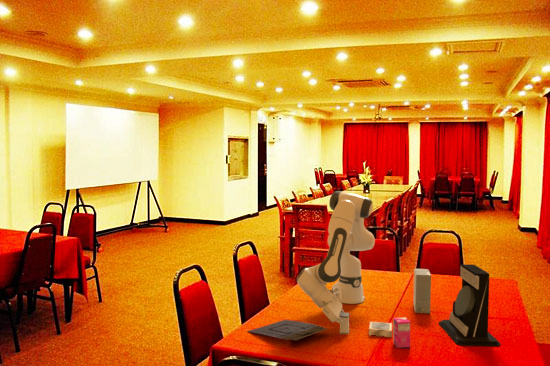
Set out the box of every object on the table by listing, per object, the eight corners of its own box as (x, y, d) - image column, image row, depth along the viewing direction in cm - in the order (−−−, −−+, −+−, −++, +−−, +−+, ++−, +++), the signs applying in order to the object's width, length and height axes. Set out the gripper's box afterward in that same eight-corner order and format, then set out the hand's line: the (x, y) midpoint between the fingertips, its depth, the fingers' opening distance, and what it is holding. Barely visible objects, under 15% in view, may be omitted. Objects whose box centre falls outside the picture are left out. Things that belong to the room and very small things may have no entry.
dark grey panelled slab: (293, 348, 207) (292, 339, 208) (247, 337, 230) (246, 329, 230) (331, 334, 224) (331, 325, 224) (285, 325, 246) (285, 317, 246)
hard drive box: (430, 314, 256) (431, 275, 254) (415, 313, 257) (415, 274, 256) (427, 305, 271) (428, 268, 270) (412, 304, 272) (413, 268, 271)
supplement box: (392, 343, 216) (393, 317, 215) (406, 343, 216) (406, 317, 215) (397, 348, 210) (397, 322, 209) (410, 348, 210) (411, 321, 210)
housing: (339, 334, 227) (339, 315, 226) (340, 330, 232) (340, 312, 232) (348, 334, 226) (348, 316, 226) (349, 331, 231) (349, 312, 231)
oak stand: (368, 335, 225) (369, 328, 225) (370, 327, 235) (370, 321, 235) (391, 337, 223) (391, 330, 223) (391, 329, 233) (392, 322, 233)
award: (437, 322, 243) (438, 261, 242) (476, 322, 243) (477, 261, 241) (458, 346, 213) (459, 276, 211) (502, 347, 212) (504, 277, 211)
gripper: (326, 300, 220) (348, 324, 218) (331, 288, 239) (352, 310, 238) (315, 310, 221) (337, 333, 219) (322, 297, 241) (342, 319, 239)
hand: (345, 321), depth 229 cm, fingers open, 8 cm apart
